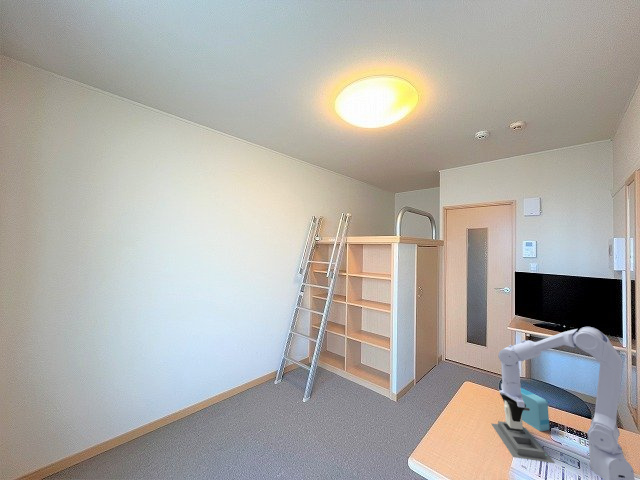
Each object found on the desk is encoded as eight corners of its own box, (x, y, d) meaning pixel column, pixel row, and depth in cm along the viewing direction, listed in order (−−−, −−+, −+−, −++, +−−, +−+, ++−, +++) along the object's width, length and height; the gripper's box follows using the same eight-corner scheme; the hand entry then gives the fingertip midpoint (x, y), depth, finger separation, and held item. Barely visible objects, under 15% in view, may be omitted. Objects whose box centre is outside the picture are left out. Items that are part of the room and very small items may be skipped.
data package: (550, 433, 102) (547, 400, 103) (540, 434, 101) (538, 401, 102) (521, 415, 114) (519, 386, 115) (512, 416, 113) (510, 387, 114)
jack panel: (555, 466, 85) (554, 456, 86) (513, 460, 88) (512, 450, 89) (525, 430, 104) (524, 422, 104) (491, 425, 107) (490, 418, 107)
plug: (533, 430, 97) (532, 408, 98) (508, 427, 99) (507, 405, 100) (528, 424, 101) (526, 402, 102) (503, 421, 103) (502, 400, 104)
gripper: (491, 371, 110) (494, 406, 108) (507, 387, 96) (510, 427, 94) (511, 373, 108) (513, 408, 107) (530, 389, 94) (533, 430, 93)
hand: (513, 417), depth 101 cm, fingers closed on plug, 4 cm apart
